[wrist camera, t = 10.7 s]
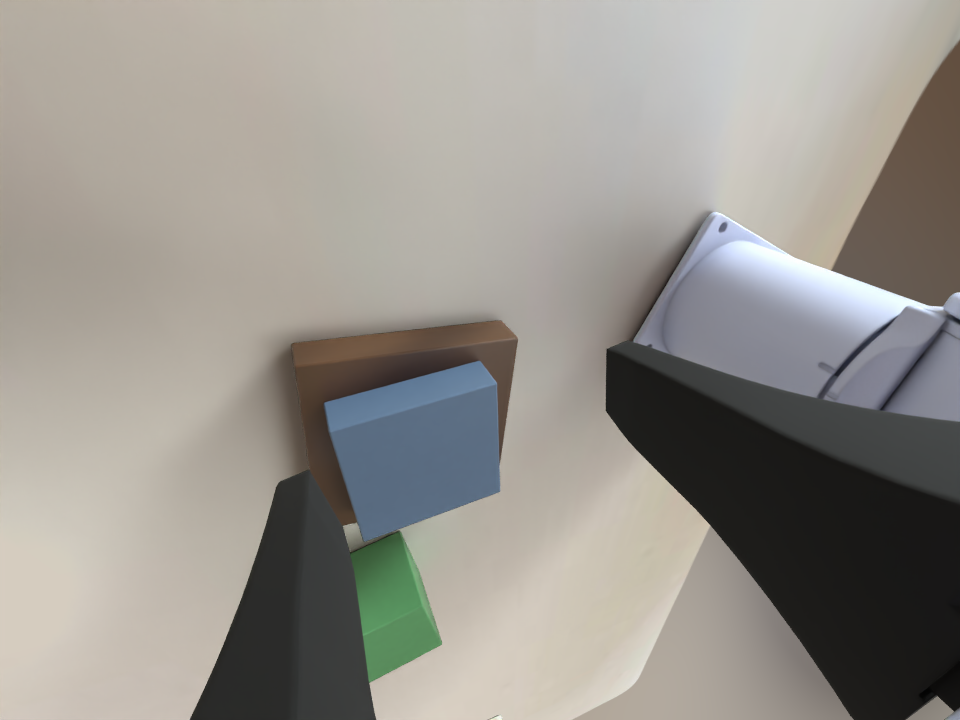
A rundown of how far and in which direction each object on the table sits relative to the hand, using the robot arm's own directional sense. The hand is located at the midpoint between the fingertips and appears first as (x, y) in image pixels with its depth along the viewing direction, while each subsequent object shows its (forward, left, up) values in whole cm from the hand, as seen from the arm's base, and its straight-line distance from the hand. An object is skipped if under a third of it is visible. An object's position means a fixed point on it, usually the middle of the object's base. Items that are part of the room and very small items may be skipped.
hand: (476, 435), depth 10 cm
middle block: (-3, +6, -8) cm, 10 cm away
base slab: (-3, +6, -9) cm, 12 cm away
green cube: (-5, +17, -9) cm, 20 cm away
